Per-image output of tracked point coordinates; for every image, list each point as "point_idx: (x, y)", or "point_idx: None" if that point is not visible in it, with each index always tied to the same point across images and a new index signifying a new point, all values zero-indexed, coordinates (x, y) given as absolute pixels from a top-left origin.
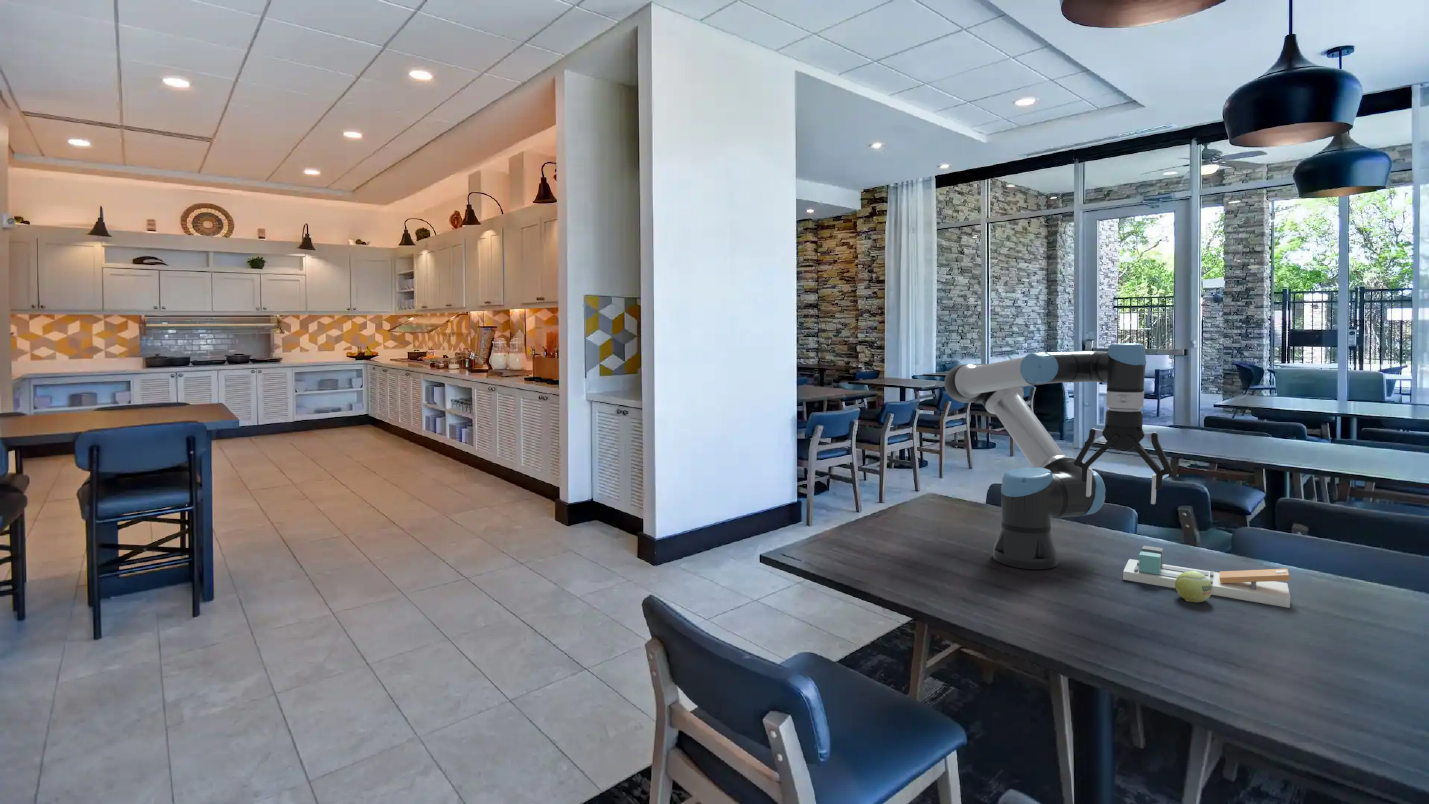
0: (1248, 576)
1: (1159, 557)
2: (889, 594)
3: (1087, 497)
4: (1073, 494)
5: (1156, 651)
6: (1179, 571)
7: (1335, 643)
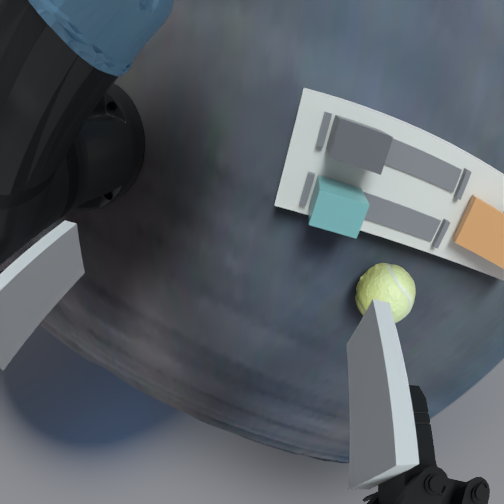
0: (492, 261)
1: (355, 237)
2: (48, 328)
3: (77, 104)
4: (29, 170)
5: (273, 410)
6: (406, 172)
7: (460, 361)
